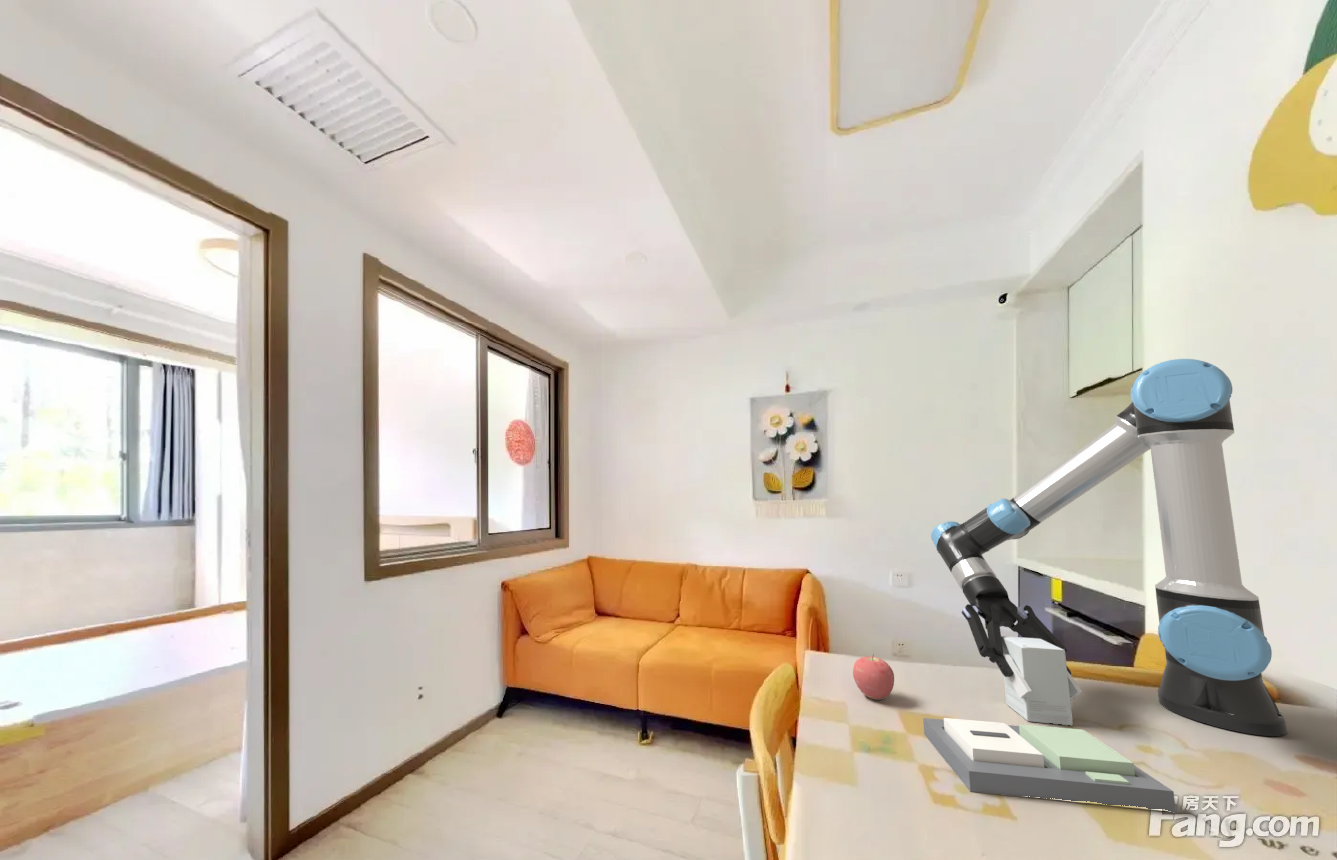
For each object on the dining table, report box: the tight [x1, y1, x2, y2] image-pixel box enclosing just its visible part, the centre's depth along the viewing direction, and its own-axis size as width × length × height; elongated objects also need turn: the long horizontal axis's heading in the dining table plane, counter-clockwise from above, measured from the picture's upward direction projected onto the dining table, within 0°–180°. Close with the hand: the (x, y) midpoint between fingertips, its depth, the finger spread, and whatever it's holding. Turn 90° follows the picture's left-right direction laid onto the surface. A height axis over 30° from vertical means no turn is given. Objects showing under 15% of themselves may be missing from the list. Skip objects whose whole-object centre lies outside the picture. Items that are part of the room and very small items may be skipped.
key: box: [1018, 723, 1135, 776], centre depth 66 cm, size 9×9×2 cm
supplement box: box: [1001, 635, 1074, 727], centre depth 84 cm, size 7×7×13 cm
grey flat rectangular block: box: [922, 717, 1177, 814], centre depth 66 cm, size 24×15×4 cm, turn 82°
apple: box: [852, 653, 895, 701], centre depth 89 cm, size 7×7×8 cm
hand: (1050, 695), depth 80 cm, fingers closed on supplement box, 8 cm apart
